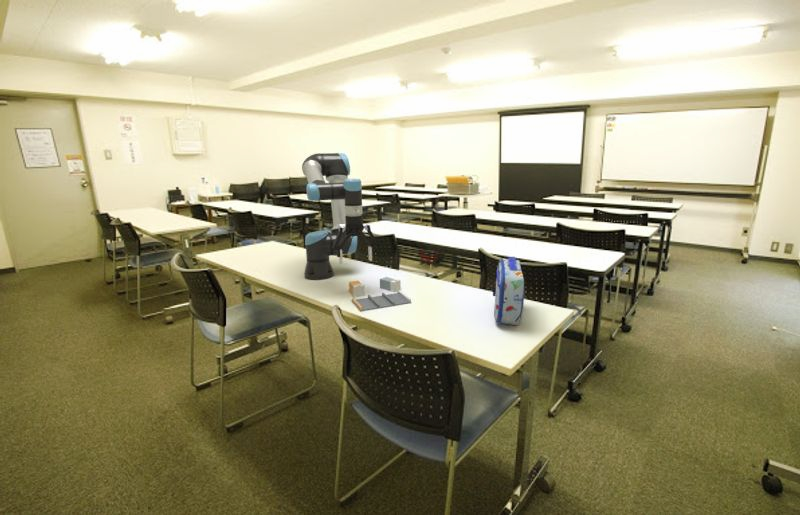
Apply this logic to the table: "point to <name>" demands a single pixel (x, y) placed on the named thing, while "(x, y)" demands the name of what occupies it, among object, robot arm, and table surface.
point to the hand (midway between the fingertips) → (355, 262)
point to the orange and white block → (356, 288)
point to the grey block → (390, 284)
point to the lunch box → (509, 292)
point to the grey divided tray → (381, 301)
